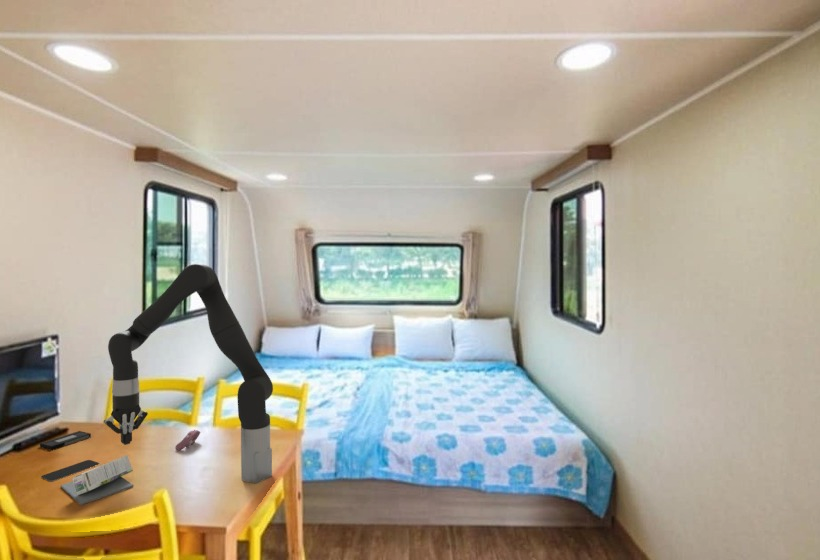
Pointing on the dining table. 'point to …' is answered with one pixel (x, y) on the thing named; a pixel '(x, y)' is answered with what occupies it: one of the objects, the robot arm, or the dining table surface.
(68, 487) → the mat
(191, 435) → the purple-brown oblong lump
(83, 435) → the vhs tape
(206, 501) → the dining table surface
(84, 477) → the syrup box
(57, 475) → the smartphone
